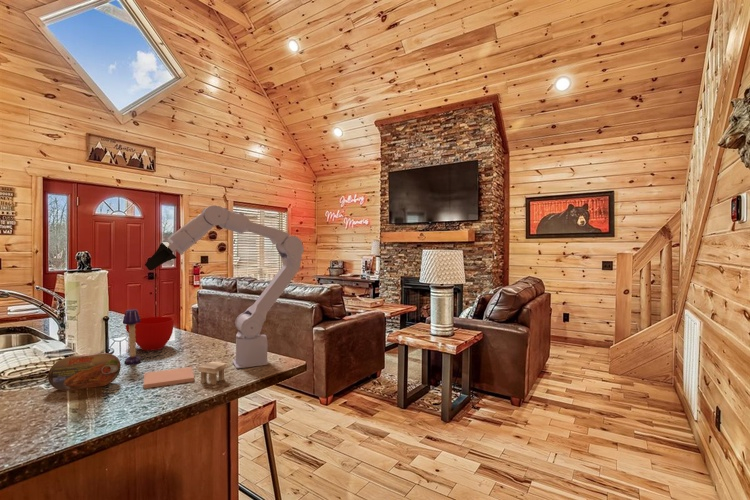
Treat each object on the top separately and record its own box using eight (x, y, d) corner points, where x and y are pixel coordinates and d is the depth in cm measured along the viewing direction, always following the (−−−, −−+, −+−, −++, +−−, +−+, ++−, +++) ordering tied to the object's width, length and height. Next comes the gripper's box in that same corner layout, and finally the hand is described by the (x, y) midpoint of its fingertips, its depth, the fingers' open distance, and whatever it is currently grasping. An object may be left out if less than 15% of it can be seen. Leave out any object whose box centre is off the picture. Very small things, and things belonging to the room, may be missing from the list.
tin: (47, 393, 94) (47, 359, 93) (51, 388, 96) (51, 356, 96) (119, 384, 101) (120, 353, 100) (121, 380, 103) (121, 349, 103)
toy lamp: (131, 365, 115) (132, 311, 115) (118, 364, 116) (119, 310, 115) (143, 361, 120) (144, 308, 119) (131, 359, 120) (132, 308, 120)
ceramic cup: (140, 341, 142) (140, 315, 142) (181, 344, 140) (181, 317, 139) (111, 351, 129) (111, 322, 129) (156, 354, 127) (156, 324, 127)
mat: (191, 370, 113) (191, 366, 113) (194, 381, 104) (194, 377, 104) (144, 376, 107) (144, 372, 107) (143, 388, 98) (143, 384, 98)
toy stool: (211, 376, 108) (211, 361, 107) (226, 379, 106) (226, 363, 106) (198, 383, 103) (198, 366, 103) (214, 385, 101) (214, 368, 101)
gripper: (177, 226, 115) (138, 257, 110) (178, 222, 102) (134, 256, 97) (194, 244, 117) (157, 274, 112) (197, 242, 104) (156, 276, 99)
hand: (148, 267), depth 105 cm, fingers open, 7 cm apart
